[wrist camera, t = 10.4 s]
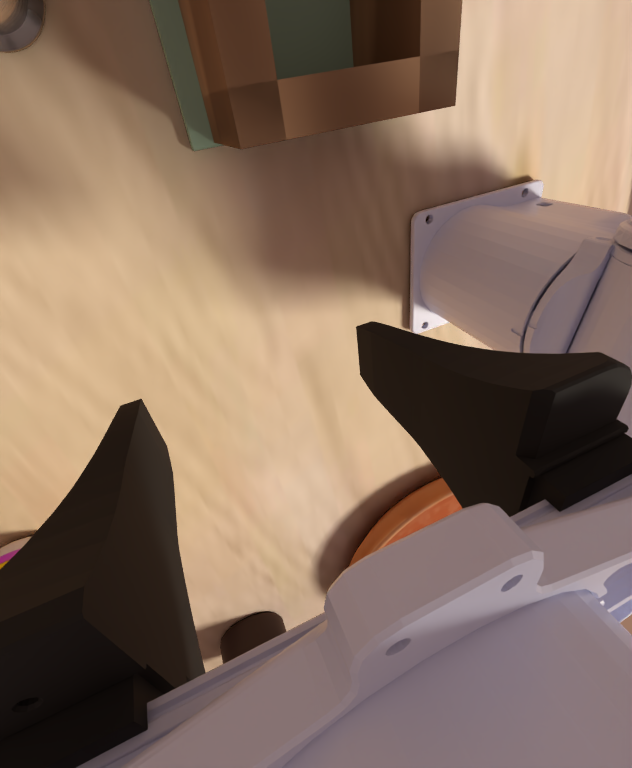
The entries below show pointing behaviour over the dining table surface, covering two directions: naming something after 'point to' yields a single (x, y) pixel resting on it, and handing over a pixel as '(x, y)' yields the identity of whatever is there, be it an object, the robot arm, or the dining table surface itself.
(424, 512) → the saucer
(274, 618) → the vinegar
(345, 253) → the dining table surface
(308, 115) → the walnut C-link
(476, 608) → the robot arm
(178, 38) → the green rubber mat
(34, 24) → the metal door knob
